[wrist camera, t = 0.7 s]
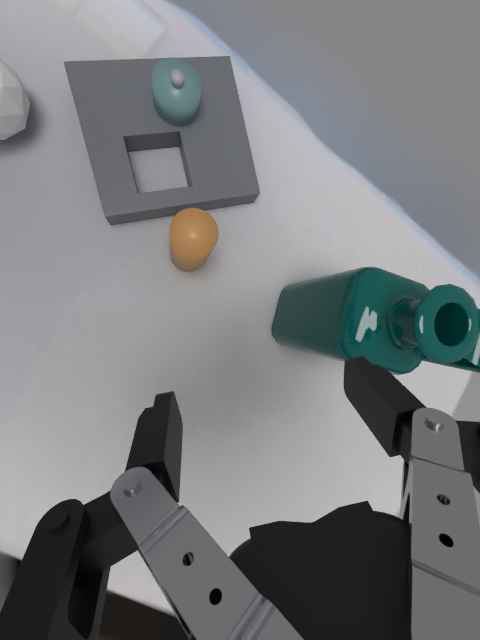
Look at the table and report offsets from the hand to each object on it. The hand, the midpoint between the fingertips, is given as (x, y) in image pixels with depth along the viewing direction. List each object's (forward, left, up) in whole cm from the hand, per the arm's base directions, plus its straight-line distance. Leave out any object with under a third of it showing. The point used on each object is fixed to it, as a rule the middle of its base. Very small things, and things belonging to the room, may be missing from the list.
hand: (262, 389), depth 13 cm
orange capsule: (+1, +11, -24) cm, 26 cm away
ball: (-15, +29, -24) cm, 41 cm away
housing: (+2, +24, -24) cm, 34 cm away
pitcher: (+15, -1, -24) cm, 28 cm away
